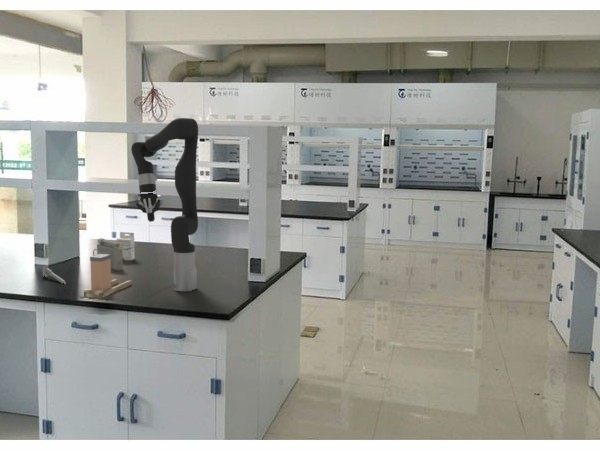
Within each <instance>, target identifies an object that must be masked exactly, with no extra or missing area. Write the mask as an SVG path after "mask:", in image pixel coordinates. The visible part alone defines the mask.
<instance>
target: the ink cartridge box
mask: <svg viewBox="0 0 600 450" xmlns="http://www.w3.org/2000/svg"><path fill="white" fill-rule="evenodd" d="M134 235H135V233H134V232H124V231H120V232H119V237H118V238H116V243H119V244H120V246H119V247H118V248H121V249H122V250H123V261H133V260H134V259H135V236H134Z"/></svg>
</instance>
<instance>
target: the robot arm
mask: <svg viewBox="0 0 600 450" xmlns="http://www.w3.org/2000/svg"><path fill="white" fill-rule="evenodd" d="M198 125H199V124H198V123H197V120H196V119H194V118H191V117H190V118H187V117H176V118H174V119H173V120H171V121H170V122H169V123H168V124H167V125H165V126H164V128H162V129H161V130H160V131H158V132H156V133H155V134H153V135H151V136H149V137H148V138H146V140H145V141H134V142H133V143H132V144H131V150H130V151H131V154H132V156H133V157H132V158H133V159H134V161H135V164H136V167H137V175H138V179H137V181H138V189H139V195H140V199H139V201H138V202H137V203H135V204H136V207H138V208H139V210H141V211H142V213H144V214H146V215H147V216H146V217H147V221H148V222H150V223H151V222H154V221H155V217H156V216H155V213H156V212H158V211H159V209H160V208H161V205H162V203H163V199H161V198H159V197H158V195H157V194H158V193H156V194H153V193H148V194H140V193H141V192H153V191H155V190H156V191H157V186H156V183H157V182H156V177H155V173H154V172H155V171H154V165H153V163H152V162H151V161H148V160H146V158H151V157H154V155H156V153H157V152H158V151H160V150H162V149H164V148H165V147H166V146H167V145H168V144H169V142H170V141H174V140H180V141H183V140H184V147H183V153H182V154H181V157H180V158H179V160H178V162H177V164H176V166H175V169H174V186H175V189H176V192H177V194H178V197H179V198H180V201H181V207H182V208H181V210H182V211H181V213H182V214H181V215H178V216H174V218H173V219H172V220H171V223H170V237H171V238H170V239H171V245H172V248H173V290H174V291H176V292H193V291H195V290H196V289H197V288H198V287H197V282H198V281H197V280H198V279H197V278H198V277H197V274H198V273H197V271H198V270H197V267H196V265H195V264H196V260H195V259H196V256H195V255H196V252H195V250H196V247H195V245H194V243H191V242H190V236H192V235H194V234H196V232H197V230H198V227H199V218H198V216H199V215H198V208H197V148H198V140H199V126H198ZM192 290H193V291H192Z"/></svg>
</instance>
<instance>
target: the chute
mask: <svg viewBox="0 0 600 450" xmlns="http://www.w3.org/2000/svg"><path fill="white" fill-rule="evenodd" d="M118 281H119V280H118V278H117V279H116V278H114V279H111V288H110V289H108V290H105V291H103V290H92V289H91V288H84V289H83V296H79V299H80V298H89V299H88V300H90V299H98V300H97V301H100V300H107V301H108V298H106V297H107V296H110V295H112V294H114V293H117V292H119V291H120V290H123V289H125V288H128V287H130V286H132V285H133V284H132V282H133V281H132V280H130V279H128V280H126V281H124V282H122V283H118ZM105 298H106V299H105Z"/></svg>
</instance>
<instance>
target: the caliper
mask: <svg viewBox="0 0 600 450" xmlns="http://www.w3.org/2000/svg"><path fill="white" fill-rule="evenodd" d="M44 276H45V277H46V278H48V277H52V278H53V279H55V280H56V281H58V282H60V284H63V283H64V284H63V285H67V284H66V283H67V282H66V280H64V278H62V277H60V275H57V274H56V273H54V272H53V271H52V269H50V268H48V265H47V264H44V265H43V267H42V277H43V278H45V277H44Z"/></svg>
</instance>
